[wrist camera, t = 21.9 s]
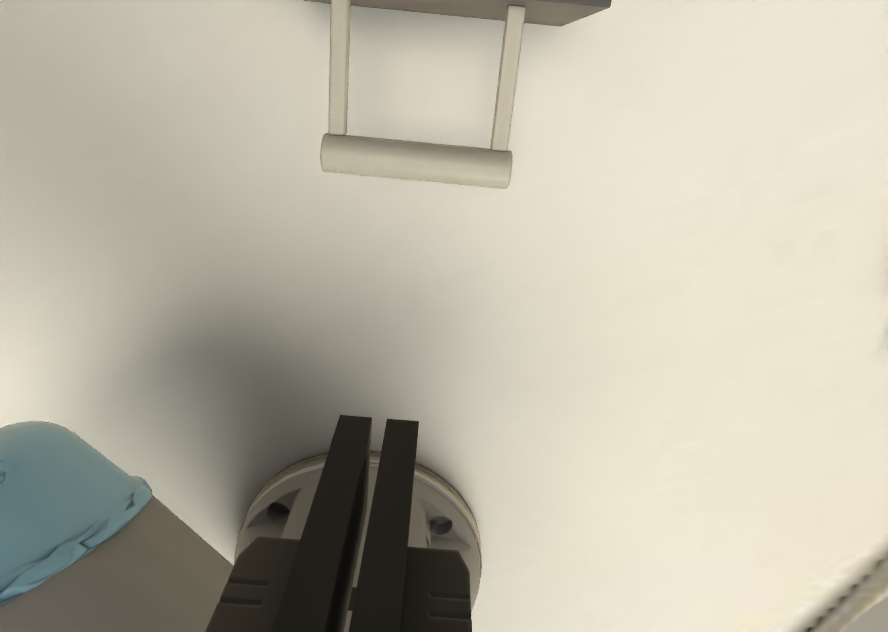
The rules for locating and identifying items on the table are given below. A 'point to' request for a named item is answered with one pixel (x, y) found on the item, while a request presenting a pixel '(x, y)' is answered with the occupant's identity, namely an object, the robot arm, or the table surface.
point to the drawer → (431, 162)
